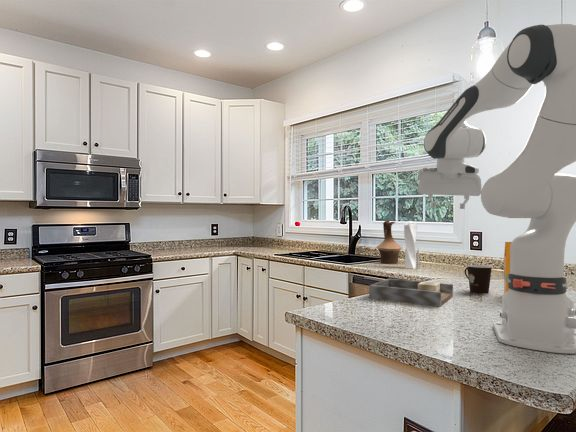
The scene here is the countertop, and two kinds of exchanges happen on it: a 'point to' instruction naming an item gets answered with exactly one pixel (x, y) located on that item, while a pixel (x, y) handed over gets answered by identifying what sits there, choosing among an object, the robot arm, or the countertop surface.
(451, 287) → the grey tray
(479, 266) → the coffee mug
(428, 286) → the birch block
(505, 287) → the orange juice
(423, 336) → the countertop surface
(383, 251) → the brown vase
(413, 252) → the skyscraper
